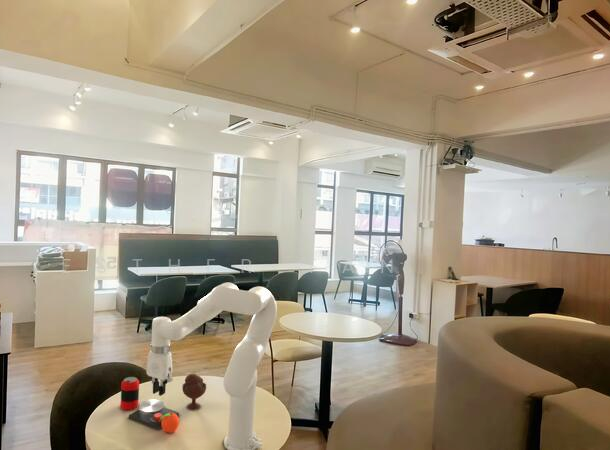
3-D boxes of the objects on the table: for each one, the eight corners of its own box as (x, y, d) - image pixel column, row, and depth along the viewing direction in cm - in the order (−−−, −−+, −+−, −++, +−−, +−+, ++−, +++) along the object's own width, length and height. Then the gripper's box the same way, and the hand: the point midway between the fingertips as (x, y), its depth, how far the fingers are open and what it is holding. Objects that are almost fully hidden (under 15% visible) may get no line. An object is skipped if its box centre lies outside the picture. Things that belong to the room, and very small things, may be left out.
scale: (179, 415, 157) (179, 408, 157) (158, 431, 145) (158, 423, 145) (150, 405, 165) (150, 398, 165) (127, 419, 153) (128, 411, 153)
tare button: (163, 418, 150) (163, 414, 150) (158, 421, 147) (158, 418, 147) (157, 416, 151) (157, 412, 151) (152, 419, 149) (152, 415, 149)
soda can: (117, 409, 160) (118, 381, 160) (126, 401, 168) (127, 375, 168) (132, 412, 159) (133, 384, 158) (141, 403, 166) (142, 377, 166)
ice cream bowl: (201, 414, 159) (203, 380, 159) (177, 410, 161) (178, 376, 161) (208, 402, 169) (210, 370, 169) (185, 399, 172) (187, 367, 171)
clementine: (159, 438, 141) (160, 419, 141) (157, 428, 147) (157, 410, 147) (180, 434, 144) (181, 416, 144) (176, 425, 150) (177, 407, 150)
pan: (169, 405, 160) (169, 403, 160) (152, 416, 150) (152, 414, 150) (150, 398, 165) (150, 396, 165) (132, 409, 155) (132, 407, 155)
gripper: (139, 347, 150) (137, 392, 150) (170, 355, 142) (168, 402, 142) (151, 342, 156) (150, 385, 156) (182, 349, 148) (180, 395, 149)
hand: (158, 393), depth 149 cm, fingers closed
